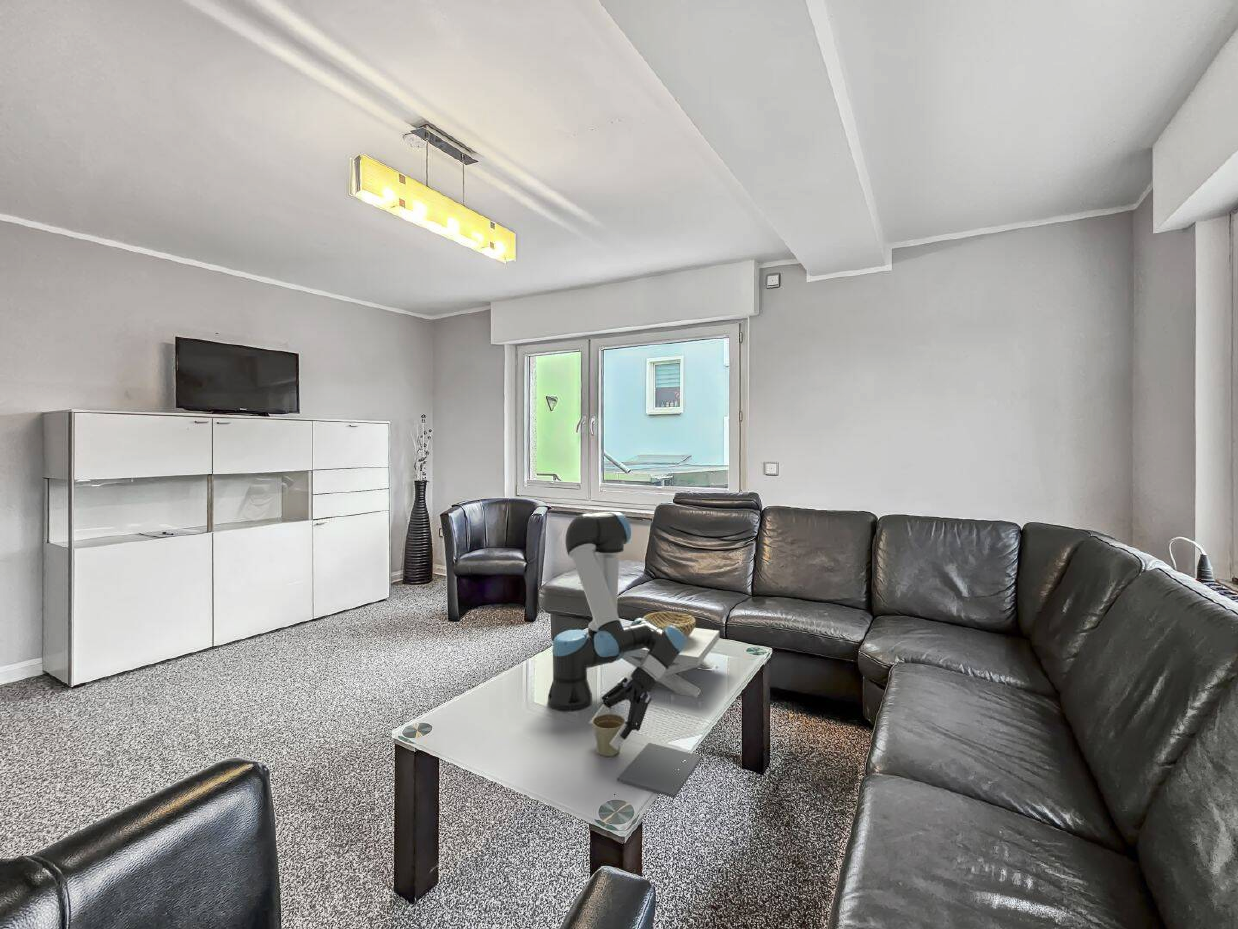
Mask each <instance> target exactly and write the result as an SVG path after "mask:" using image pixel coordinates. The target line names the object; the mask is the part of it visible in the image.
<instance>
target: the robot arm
mask: <svg viewBox="0 0 1238 929" xmlns="http://www.w3.org/2000/svg"><path fill="white" fill-rule="evenodd" d="M631 537H632V530H631V526H630V521H629V520H628V519H627V517H626V515H624V514H623V513H621V512H618V511H603V512H592V513H588V512H587V513H582V514H579V515H578V516H576V517H575V518H573V519H572V520H571V522H570V523H569V525H568V527H567V529H566V533H565V548H566V549H565V550H566V553H567V556H568V558H569V559H571V560H572V561H573V564H574V567H575V569H576V572H577V575H578V577H579V581H580V584H581V586H582V589H583V592H584V595H585V597H586V602H587V604H588V607H589V609H590V613H591V614H592V620H590V621H591V622H589V623H588V625H587V626H588V628H587V632H586V631H585V630H583V629H577V628H576V629H568V630H565V631H562V632H560V633H558V634H557V635H556V636H555V637H554V638H553V641H552V650H551V652H552V683H551V685H550V687H549V688H550V689H549V691H548V694H547V704H548V706H549V707H550V708H552V709H554V710H556V711H559V712H560V711H561V712H577V711H580V710H583V709H586V708H588V707H590V706H591V704H592V703H593V692H592V691H591V690H592V689H591V688H590V684H589V681H588V669H590V668H594V667H598V666H602V665H607V664H613V663H614V662H618V661H620V660H621V659H622V657H623V656H624V654H625V652H629V651H634V650H639V649H643V648H647V649H648V650H649V652H648V653H647V654H646V656H645V657H644V658H643V659H642V661H641V662H640V663H639V664H640V667H637V668H636V667H635V669H634V670H633V672H632V673H631V674H630V675H631V677H632V680H631V681H629V680H628V679H627V678H626V677H625V676H624V677H625V678H624V679H623V680H622V681H621V682H620V683H619V684H617V685H616V684H615V686H613V687H612V688H611V689H610V690H609V691H607V692H606V693H605V694H603V695H602V696H601V700H602V704H601V706H599V708H598V709H597V711H596V712H595V714H594V715H593V717H592V718H591V719H590V721H589V722H588V723H589V724H590V725H591V726H593V724H592V720H593V719H594V718H595V717H596V716H598V715H602V714H609V713H610V710H612V707H614V706H616V705H617V704H619V703H621V702H623V701H629V710H628V716H627V721H625V723H624V724H623V726H622V727H621V728H620V730H619V731H618V732H617V734H616V735H615V736H614V738H613V739H612V741H611V742H610V743H609V744H610V745H611V746H613V747H614V748H615V749H616V750H617V749H618V748H619V746H620V747H621V745H622V744H623V742H624V741H625V740H626V739H627V738H628V736H629V735H630V734H631V732H632V731H637V732H639V731H640V730H641V727H642V724H643V723H644V722H643V721H644V718H645V715H646V714H647V710H648V708H649V705H650V703H651V701H653V698H652V697H651V696H650V695H649V694H648V693H652V692H653V691H654V690H655V688H656V687H657V685H658V681H657V680H660V679H661V678H662V676H663V675H664V673H665V672H666V671H667V669H668V668H669V667H670V665H671V664H672V662H673V661H674V660H675V658H676V657H677V656H678V655H679V653H680V652H681V651H682V649H683V647H684V646H685V644H686V642H687V638H686V636H685V635H684V634H683V633H682V632H681V631H679V630H678V629H677V628H675V627H674V626H672V625H668V626H667V628H665V629H662V628H660V627H658V626H657V625H655V624H654V623H652V622H651V621H648V620H646V619H644V618H643V617H637V618H636V619H634V620H633V621H632V622H631V624H630V625H626V626H623V625H622V623H621V619H620V617H619V615H618V598H619V597H618V593H619V569H620V568H619V565H620V555H621V554H622V553H623V552H624V546H625V545H626V544H628V543H629V542H630V540H631Z"/></svg>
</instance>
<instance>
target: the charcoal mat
mask: <svg viewBox="0 0 1238 929" xmlns="http://www.w3.org/2000/svg"><path fill="white" fill-rule="evenodd" d="M684 760H686V761H684ZM701 760H702V755H699V754H696V753H695V754H694V753H690V752H688V751H683V750H679V749H675V748H671V747H667V746H664V745H661V744H660V745H659V744H655V743H652V742H648V743H647V744H646V745H645V746H644V747H643V749H642V750H641V751H639V753H638V754H637V755H636V757H634V758H633V760H632V761H631V762H630V763H629V764H628V765H627V766H626V767H625V769H624V770H622V772H621V773H620V774H619V775H618V776H617V778H616V781H617V782H620V783H623V784H626V785H629V786H633V787H637V788H639V789H643V790H646V791H650V792H653V793H656V794H659V795H662V796H666V797H670V798H672V799H676V797H677V796H678V794H680V791H681V790H682V788H683V787H684V786H685V784H686V783H687V781H688V780H689V778H690V777H691V775H692V773H693V772H694V771H695V769H696V767H697V766H698V765H699V763H700V762H701ZM683 761H684V762H683ZM678 769H679V770H678Z"/></svg>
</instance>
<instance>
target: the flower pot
mask: <svg viewBox="0 0 1238 929" xmlns="http://www.w3.org/2000/svg"><path fill="white" fill-rule="evenodd" d="M625 722H626V720H625V717H623V716H621V715H620V714H618V713H617V714H616V713H607V714H602V715H598V716H596V717H595V718H594V719H593V720H592V724H593V725H592V727H593V729H594V730H595V731H594V732H595V739H596V746H597V752H598V754H600V755H602V756H604V757H613V756H615V755H616V754H617V755H618V754H619V753H620V752H621V751H620V750H621V745H620V746H619V748H618V749H617V750H616V749H615V748H614V747H613V746H611V745H610V744H609V743H610V742H611V741H612V739H613V738H614V736H615V735H616V734H617V732H618V731H619V730H620V728H621V727H622V726H623V724H624V723H625Z"/></svg>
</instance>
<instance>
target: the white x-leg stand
mask: <svg viewBox="0 0 1238 929" xmlns="http://www.w3.org/2000/svg"><path fill="white" fill-rule="evenodd" d="M642 618H644V619H646V620H648V621H651V622H652V623H654V624H655V625H657V626H658V627H660V628H662V629H665V628H667V626H668V625H672V626H674V627H675V628H677V629H678V630H679V631H681V632H682V633H683V634H684V635H685V636H686V638H687V642H686V644H685V646H684V647H683V649H682V651H681V652H680V653H679V655H678V656H677V657H676V658H675V660H674V661H673V662H672V664H671V665H670V667H669V668H668V669H667V671H666V672H665V673H664V675H663V676H662V678H661V679H660V680H657V682H659V683H661V684H662V685H664V686H665V687H667V688H668V689H670V690H672V691H674V692H675V693H676V694H678V695H681V696H687V697H693V698H698V697H699V696H698V693H700V694H701V692H702V691H701V690H702V689H700V688H699V687H697V686H696V685H694V684H692V683H691V682H689V681H688V680H686V679H684V678H683V677H681V676H679V675H678V673H680V672H684V671H687V670H690V669H695V668H696V669H698V668H701V669H712V668H713V663H714V662H713V661H711V660H710V659H708V658H706V657H707V656H708V655H709V653H710V652H711V651H712V649H713V648H714V646H715V645H716V644H717V643H718V641H719V640H720V630H714V629H707V628H699V627H696V625H697V624H696V623H697V620H696V618H695V616H692V615H690V614H687V613H684V612H676V611H657V612H652V613H648V614H646V615H644V616H643V617H642ZM648 652H649V650H648V649H647V648H643V649H639V650H634V651H629V652H625V654H624V656H623V657H622V658H621V659H622V660H624V661H626V662H627V663H629V664H630V665H632V666H633V667H635V669H636V668H637V667H640V664H639V663H640V662H641V661H642V659H643V658H644V657H645V656H646V654H647V653H648ZM701 669H700V670H701ZM625 677H626V678H627V679H628V680H629V681H631V680H632V677H631V674H628V675H626V676H622V677H621V678H620V679H618V681H617V682H616V683H615V685H616V684H617V685H618V684H619V683H620V682H621V681H622V680H623V679H624V678H625Z"/></svg>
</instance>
